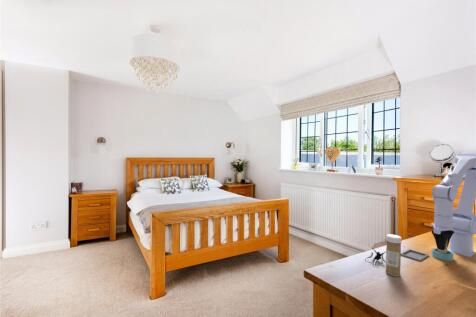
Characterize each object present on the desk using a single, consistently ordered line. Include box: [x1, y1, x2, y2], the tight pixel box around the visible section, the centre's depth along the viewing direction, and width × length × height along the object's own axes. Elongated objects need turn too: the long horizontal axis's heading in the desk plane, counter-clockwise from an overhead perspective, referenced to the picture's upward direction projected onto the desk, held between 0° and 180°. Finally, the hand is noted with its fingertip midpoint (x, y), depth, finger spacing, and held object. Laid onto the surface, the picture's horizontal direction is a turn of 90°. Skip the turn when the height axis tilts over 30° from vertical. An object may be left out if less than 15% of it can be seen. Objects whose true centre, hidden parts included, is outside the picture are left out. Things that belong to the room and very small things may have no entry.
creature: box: [364, 246, 386, 267], centre depth 96 cm, size 8×5×8 cm
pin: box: [437, 239, 448, 254], centre depth 100 cm, size 3×3×8 cm
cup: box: [431, 247, 455, 262], centre depth 101 cm, size 7×7×3 cm
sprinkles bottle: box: [385, 233, 403, 277], centre depth 87 cm, size 5×5×14 cm
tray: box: [401, 248, 430, 262], centre depth 102 cm, size 9×7×1 cm
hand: (442, 248), depth 100 cm, fingers closed on pin, 3 cm apart
